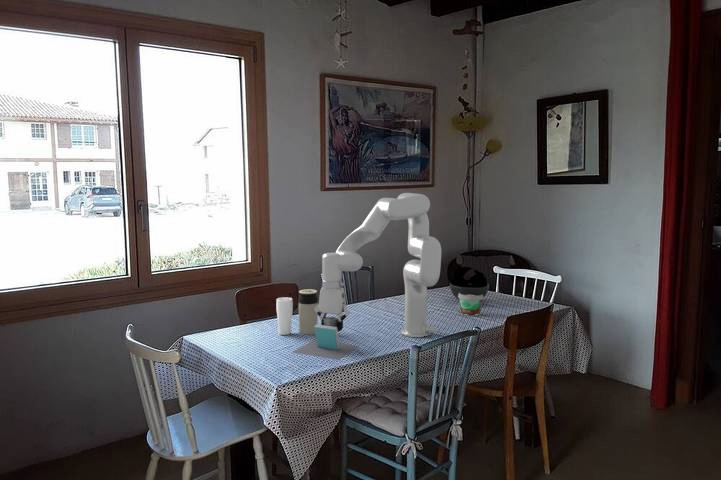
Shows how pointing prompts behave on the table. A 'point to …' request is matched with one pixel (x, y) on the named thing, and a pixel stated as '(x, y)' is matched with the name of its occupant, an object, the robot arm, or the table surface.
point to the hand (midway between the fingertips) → (332, 329)
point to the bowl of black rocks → (468, 283)
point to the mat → (325, 350)
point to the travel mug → (307, 311)
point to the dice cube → (330, 321)
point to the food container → (470, 303)
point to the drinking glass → (284, 315)
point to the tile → (327, 337)
